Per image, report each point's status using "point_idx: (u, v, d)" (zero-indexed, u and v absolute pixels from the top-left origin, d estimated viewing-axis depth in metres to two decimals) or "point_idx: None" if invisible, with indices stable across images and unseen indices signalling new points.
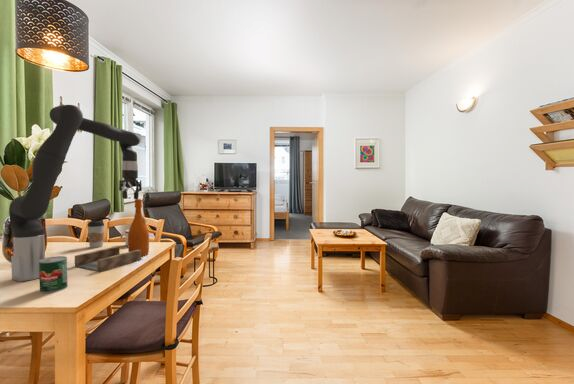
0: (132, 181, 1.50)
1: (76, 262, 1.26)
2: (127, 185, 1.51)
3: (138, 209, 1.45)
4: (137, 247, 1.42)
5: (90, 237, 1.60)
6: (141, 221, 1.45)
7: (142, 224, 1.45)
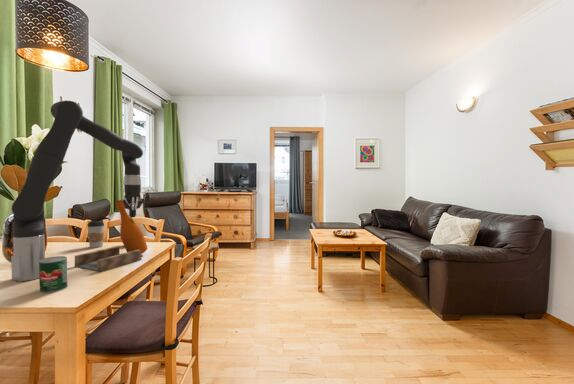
0: (139, 196, 1.45)
1: (76, 262, 1.26)
2: (134, 199, 1.42)
3: (122, 211, 1.36)
4: (133, 247, 1.40)
5: (90, 237, 1.60)
6: (129, 222, 1.39)
7: (131, 225, 1.39)
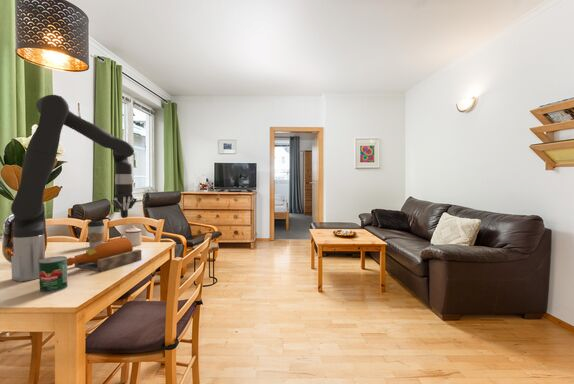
0: (131, 196, 1.41)
1: None
2: (126, 199, 1.38)
3: (75, 262, 1.18)
4: None
5: (90, 237, 1.60)
6: (93, 258, 1.23)
7: (98, 257, 1.24)
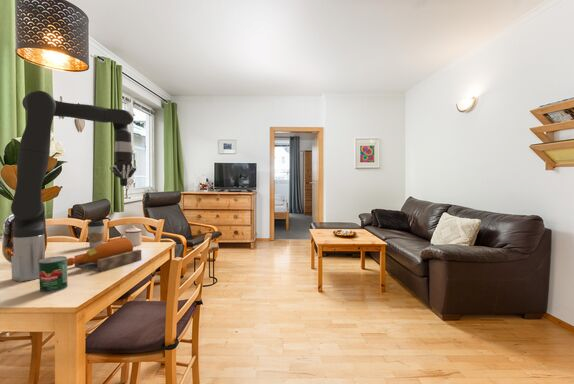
0: (130, 164, 1.40)
1: None
2: (125, 167, 1.37)
3: (76, 262, 1.17)
4: None
5: (90, 237, 1.60)
6: (93, 258, 1.23)
7: (98, 258, 1.24)
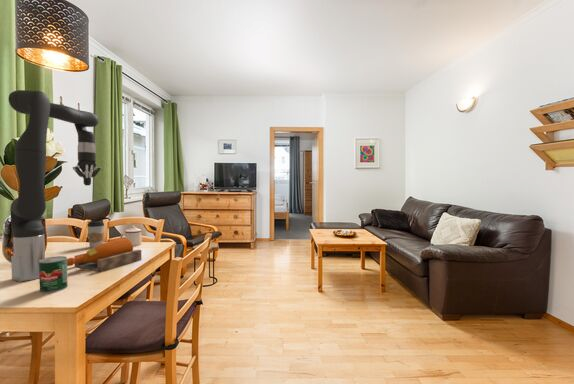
0: (94, 164, 1.45)
1: None
2: (88, 167, 1.42)
3: (76, 262, 1.17)
4: None
5: (90, 237, 1.60)
6: (93, 258, 1.23)
7: (98, 258, 1.24)
